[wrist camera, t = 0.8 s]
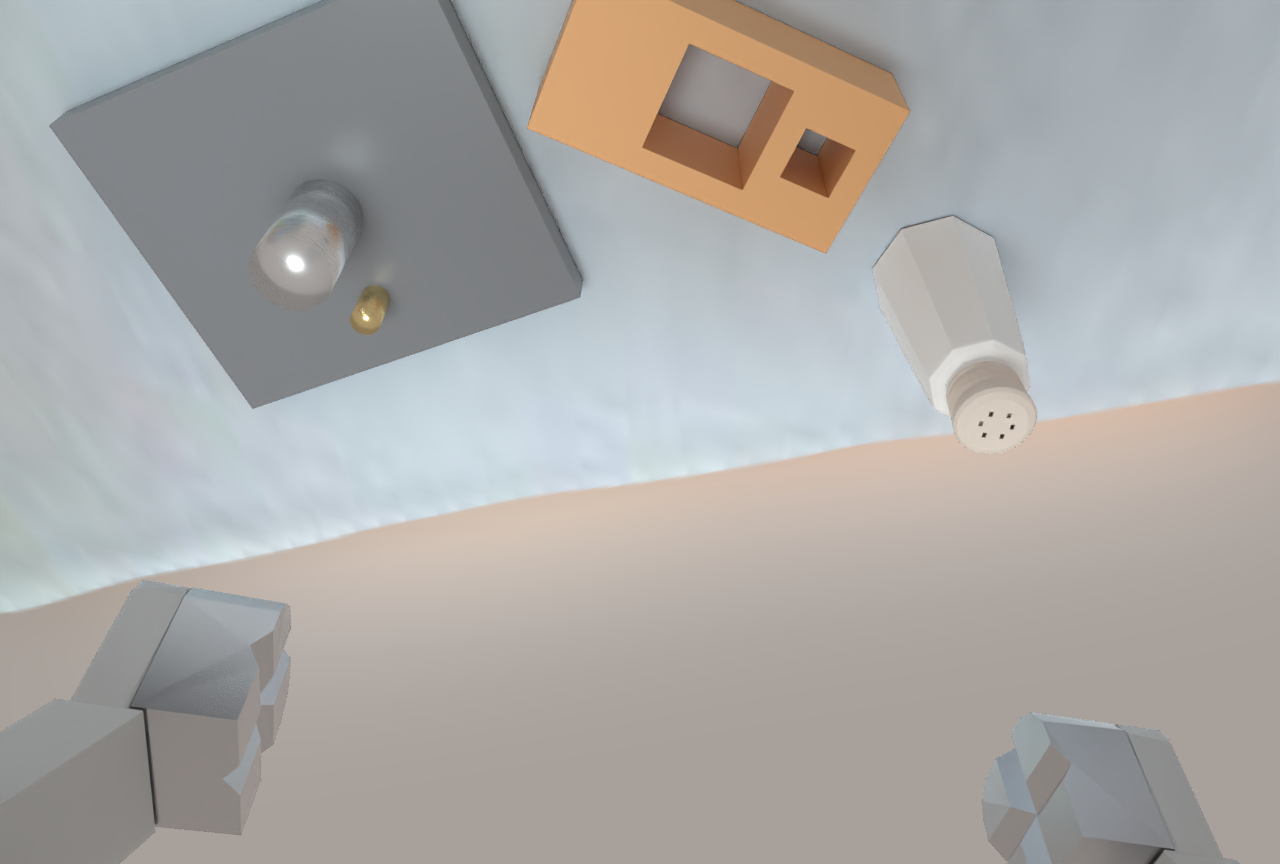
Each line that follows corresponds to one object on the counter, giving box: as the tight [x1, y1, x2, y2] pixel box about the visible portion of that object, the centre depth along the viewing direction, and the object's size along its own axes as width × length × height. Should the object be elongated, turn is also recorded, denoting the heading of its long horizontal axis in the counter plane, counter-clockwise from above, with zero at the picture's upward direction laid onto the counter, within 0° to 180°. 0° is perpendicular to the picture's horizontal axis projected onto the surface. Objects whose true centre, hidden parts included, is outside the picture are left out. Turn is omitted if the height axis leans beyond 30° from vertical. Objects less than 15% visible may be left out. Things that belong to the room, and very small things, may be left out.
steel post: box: [249, 180, 364, 311], centre depth 43 cm, size 3×3×6 cm
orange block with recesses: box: [527, 0, 910, 253], centre depth 41 cm, size 12×6×4 cm, turn 67°
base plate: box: [49, 0, 583, 409], centre depth 45 cm, size 16×14×2 cm
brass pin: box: [350, 285, 390, 335], centre depth 46 cm, size 1×1×4 cm
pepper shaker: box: [872, 216, 1037, 454], centre depth 42 cm, size 5×5×11 cm
